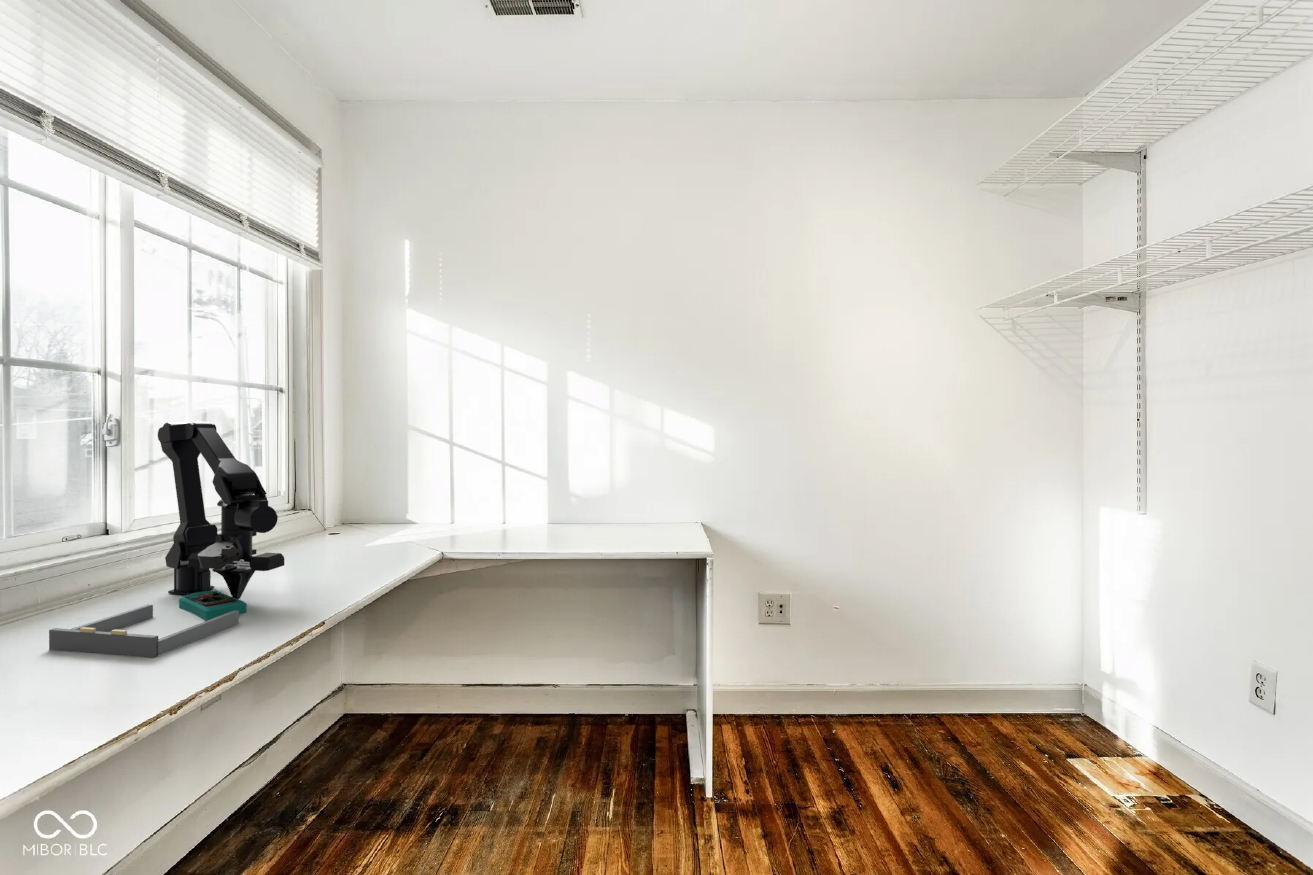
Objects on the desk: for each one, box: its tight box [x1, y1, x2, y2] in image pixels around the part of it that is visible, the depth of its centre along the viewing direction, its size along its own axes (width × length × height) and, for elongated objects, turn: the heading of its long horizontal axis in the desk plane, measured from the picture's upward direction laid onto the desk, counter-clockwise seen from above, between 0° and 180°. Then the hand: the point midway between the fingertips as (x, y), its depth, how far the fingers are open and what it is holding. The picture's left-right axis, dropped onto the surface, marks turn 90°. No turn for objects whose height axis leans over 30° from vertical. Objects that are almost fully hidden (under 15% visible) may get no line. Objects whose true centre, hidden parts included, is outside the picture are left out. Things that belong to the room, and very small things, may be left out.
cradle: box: [48, 604, 240, 659], centre depth 123 cm, size 20×20×4 cm
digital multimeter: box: [178, 590, 248, 621], centre depth 140 cm, size 8×15×3 cm, turn 54°
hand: (236, 599), depth 144 cm, fingers closed
